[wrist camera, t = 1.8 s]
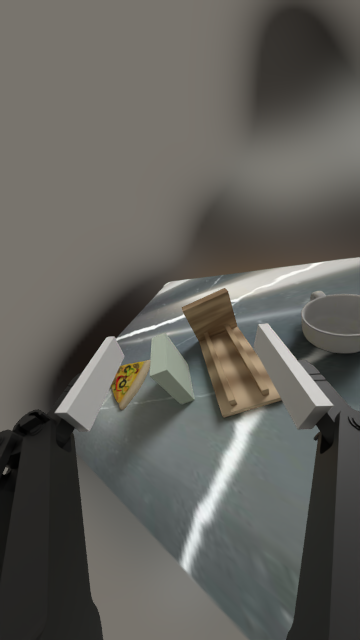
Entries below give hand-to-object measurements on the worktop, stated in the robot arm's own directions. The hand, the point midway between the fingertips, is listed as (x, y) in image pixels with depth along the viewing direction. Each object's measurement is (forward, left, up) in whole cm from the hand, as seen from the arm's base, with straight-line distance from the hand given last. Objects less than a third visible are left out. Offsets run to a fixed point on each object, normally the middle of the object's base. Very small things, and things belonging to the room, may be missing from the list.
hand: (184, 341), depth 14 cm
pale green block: (+5, -13, -24) cm, 28 cm away
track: (-8, -10, -24) cm, 27 cm away
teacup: (-28, -1, -25) cm, 37 cm away
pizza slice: (+22, -30, -25) cm, 45 cm away
